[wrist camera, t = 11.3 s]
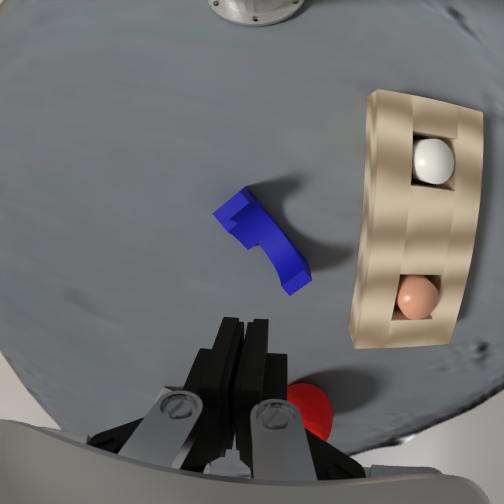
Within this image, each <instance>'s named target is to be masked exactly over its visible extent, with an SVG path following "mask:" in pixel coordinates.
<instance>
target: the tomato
mask: <svg viewBox="0 0 504 504" xmlns="http://www.w3.org/2000/svg"><path fill="white" fill-rule="evenodd" d="M287 401H289V402H290V403H292V404H294V405H295V406H296V407H297V408H298V409H299V411H300V413H301V416H302V420H303V424H304V427H305V428H306V429H308V430H309V431H311V432H312V433H314V434H315V435H317V436H318V437H319V438H321V439H322V440H324V441H327V439H328V438H329V436H330V432H331V428H332V420H333V410H332V405H331V403H330V401H329V399H328V397H327V396H326V394H325V393H324V392H323V391H322V390H321V389H320V388H318V387H317V386H314V385H312V384H308V383H298V384H293V385H290V386H287Z"/></svg>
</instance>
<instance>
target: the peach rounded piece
mask: <svg viewBox="0 0 504 504" xmlns="http://www.w3.org/2000/svg"><path fill="white" fill-rule="evenodd" d="M395 302H396V303H397V305H398V306H399V308H400V309H401V311H402V312H403V313H404V315H405V316H406V317H407V318H409V319H411V320H419V319H423V318H425V317H426V316H428V315H429V314H430V313H431V312H432V311H433V310H434V308H435V307H436V305H437V302H438V291H437V289H436V287H435V286H434V285H433V284H432V283H431V282H430V281H429V280H428V279H427V278H426V277H425V276H424V275H417V274H400V278H399V284H398V289H397V294H396V299H395Z"/></svg>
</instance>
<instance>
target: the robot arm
mask: <svg viewBox="0 0 504 504" xmlns="http://www.w3.org/2000/svg"><path fill="white" fill-rule="evenodd" d="M304 1H305V0H208V3H209V5H210V6H211V8H212V9H213V10H214V12H215V13H216V14H217V15H219V16H220V17H221V18H223V19H225V20H227V21H229V22H231V23H234V24H237V25H242V26H252V27H259V26H267V25H272V24H275V23H279V22H281V21H283V20H286V19H287V18H289V17H291V16H292V15H294V14H295V13H296V12H297V11H298V10H299V9H300V8H301V6H302V5H303V3H304ZM294 3H297V4H294ZM217 5H218V6H217ZM255 20H258V21H256V22H255ZM268 324H269V319H254V321H253V322H248V325H247V330H246V334H245V339H244V322H239V318H233V317H224V318H223V320H222V323H221V326H220V328H219V331H218V334H217V337H216V339H215V342H214V345H213V348H212V349H203V348H201V349H200V350H199V351H198V354H197V356H196V358H195V361H194V363H193V366H192V368H191V370H190V373H189V375H188V378H187V380H186V382H185V385H184V387H183V390H179V391H172V392H168V393H166V394H164V395H162V396H161V397H160V398H159V399H158V400H157V401H156V403H155V404H154V405H153V407H152V408H151V409H150V411H149V412H148V414H147V415H146V416H145V417H144V418H141V419H138V420H136V421H133V422H130V423H127V424H124V425H122V426H119V427H116V428H113V429H110V430H107V431H104V432H101V433H99V434H97V435H94V436H93V437H90V436H89V434H86V433H78V432H71V431H65V430H58V429H52V428H47V427H37V426H33V425H30V424H27V423H23V422H18V421H13V420H4V419H0V504H491V503H490V501H489V499H488V497H487V495H486V494H485V493H484V491H483V490H482V489H481V488H480V487H479V485H477V484H476V483H475V482H473V481H471V480H469V479H467V478H463V477H459V476H454V475H445V474H442V473H441V472H440V471H439V470H437V469H435V468H432V467H405V466H404V467H403V466H384V465H372V466H371V468H368V467H362V465H360V464H359V463H358V462H357V461H355V460H354V459H352V458H350V457H349V456H347V455H346V454H344V453H342V452H341V451H339V450H338V449H336V448H335V447H333V446H332V445H330V444H329V443H327V442H326V441H324V440H322V439H321V438H319V437H318V436H317V435H315V434H314V433H312V432H311V431H309V430H308V429H306V428H305V427H304V424H303V420H302V416H301V413H300V411H299V409H298V408H297V407H296V406H295V405H294V404H292V403H290V402H289V401H287V354H276V353H267V350H268ZM235 435H236V450H239V452H240V460H241V461H242V462H243V463H245V464H246V465H247V466H248V467H249V468H250V479H248V478H237V477H227V476H219V475H212V474H208V472H209V470H210V468H211V461H213V460H215V459H217V458H219V457H225V452H226V449H230V450H231V449H232V446H233V441H234V436H235Z"/></svg>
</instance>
